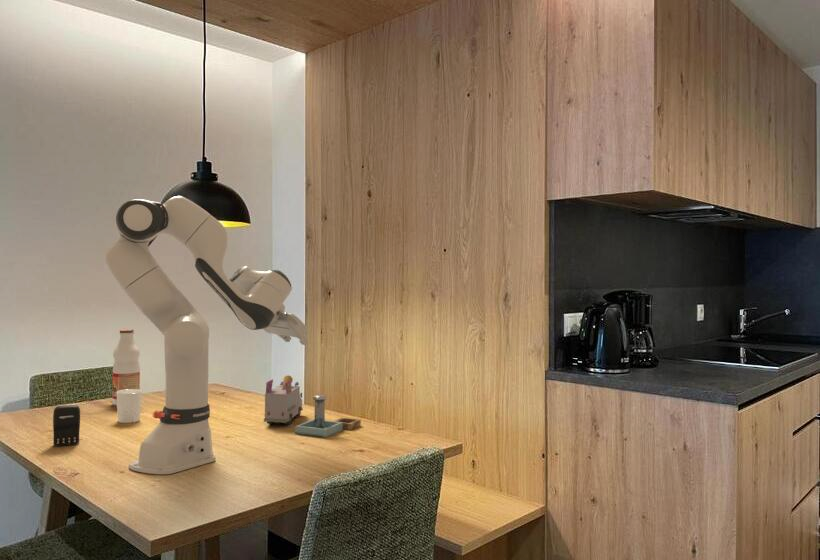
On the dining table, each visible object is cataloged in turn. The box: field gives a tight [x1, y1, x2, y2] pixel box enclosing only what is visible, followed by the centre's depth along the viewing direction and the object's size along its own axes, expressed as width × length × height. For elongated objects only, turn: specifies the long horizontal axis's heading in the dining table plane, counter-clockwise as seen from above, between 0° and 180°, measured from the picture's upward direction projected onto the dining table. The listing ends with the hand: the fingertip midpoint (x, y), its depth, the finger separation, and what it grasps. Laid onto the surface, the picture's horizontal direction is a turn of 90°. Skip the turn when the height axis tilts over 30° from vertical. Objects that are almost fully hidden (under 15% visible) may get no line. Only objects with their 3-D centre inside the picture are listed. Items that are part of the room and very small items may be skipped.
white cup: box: [116, 389, 143, 424], centre depth 216 cm, size 8×8×10 cm
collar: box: [334, 417, 362, 431], centre depth 213 cm, size 7×7×2 cm
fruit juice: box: [111, 328, 141, 407], centre depth 242 cm, size 9×9×28 cm
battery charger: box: [52, 403, 81, 447], centre depth 185 cm, size 7×4×11 cm, turn 118°
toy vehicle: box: [263, 374, 303, 426], centre depth 220 cm, size 9×20×15 cm, turn 174°
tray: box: [294, 418, 344, 439], centre depth 206 cm, size 11×11×2 cm
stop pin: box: [312, 394, 328, 429], centre depth 206 cm, size 4×4×11 cm
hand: (297, 341), depth 200 cm, fingers open, 8 cm apart
